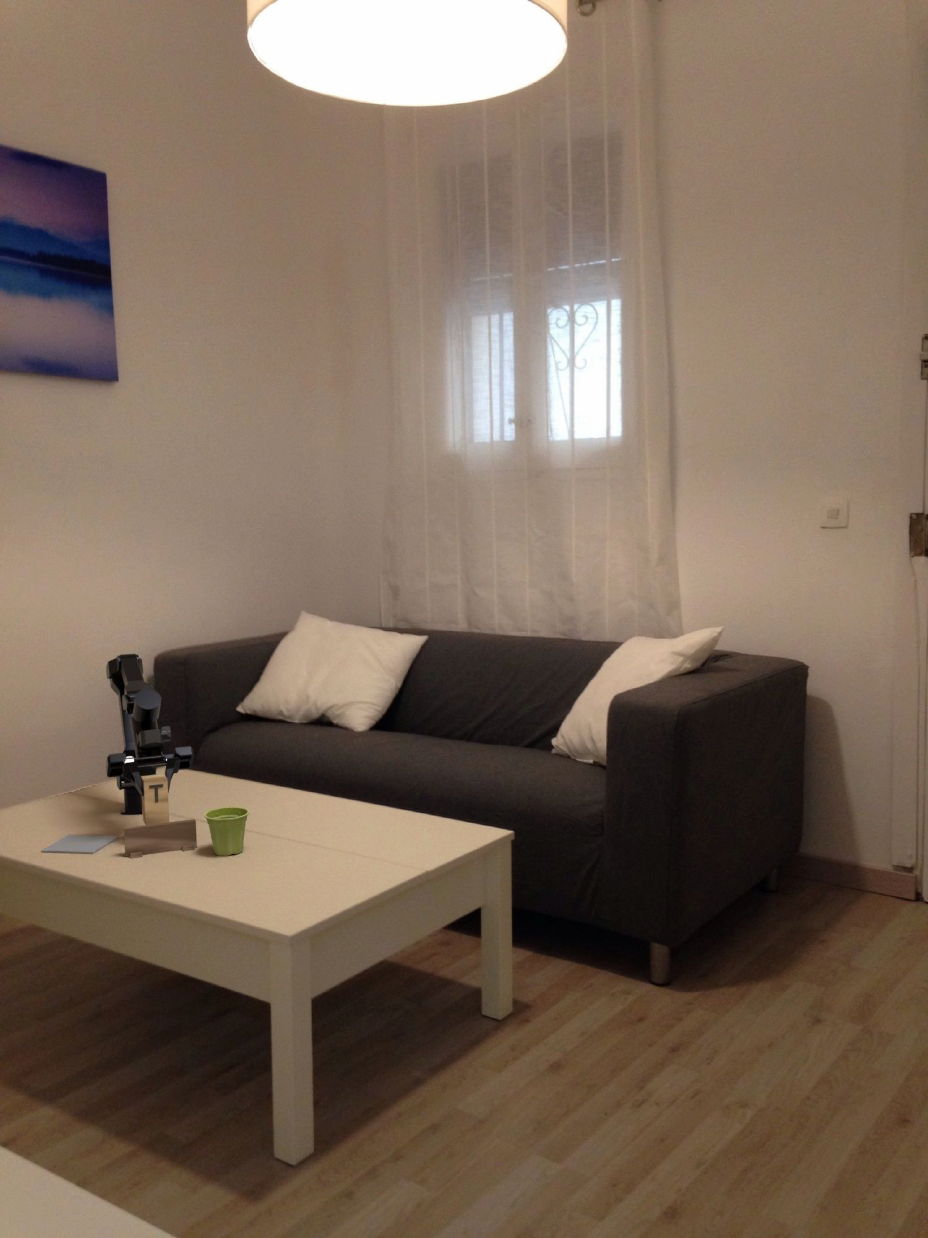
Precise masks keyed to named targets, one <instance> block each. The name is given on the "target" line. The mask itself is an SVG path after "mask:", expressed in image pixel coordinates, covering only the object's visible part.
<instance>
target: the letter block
mask: <svg viewBox="0 0 928 1238" xmlns="http://www.w3.org/2000/svg"><path fill="white" fill-rule="evenodd" d="M141 781H142V784H143V789H144V796H142V813H141V814H142V822H143V823H144V825H151V824H159V823H167V822H170V809H169V807H170V806H169V805H170V804H169V793H168V780H167V777H166V776H165V773H159V774H157V773H156V775H148V776H141Z"/></svg>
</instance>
